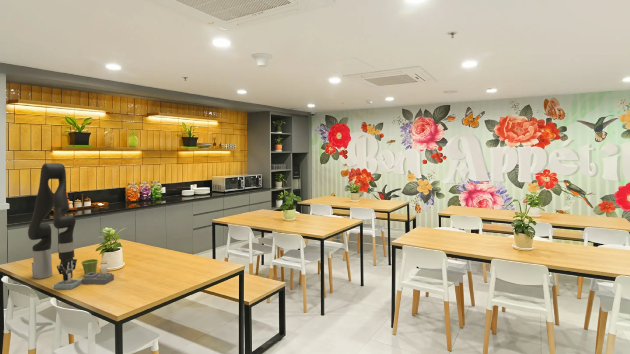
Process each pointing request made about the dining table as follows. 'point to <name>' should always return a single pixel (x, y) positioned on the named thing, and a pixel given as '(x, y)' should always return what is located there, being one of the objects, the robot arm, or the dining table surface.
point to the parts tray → (67, 286)
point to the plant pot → (89, 266)
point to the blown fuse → (68, 276)
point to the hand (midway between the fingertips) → (67, 279)
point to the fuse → (104, 268)
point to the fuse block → (97, 278)
